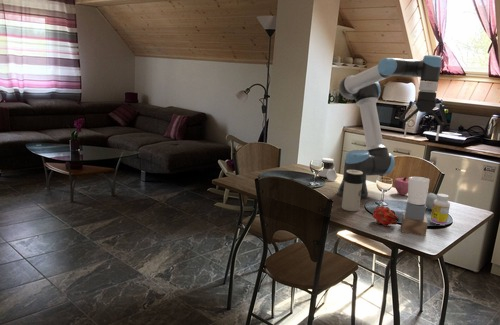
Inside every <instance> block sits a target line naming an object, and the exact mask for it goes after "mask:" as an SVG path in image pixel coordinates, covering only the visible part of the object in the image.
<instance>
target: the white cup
mask: <svg viewBox="0 0 500 325" xmlns="http://www.w3.org/2000/svg"><path fill="white" fill-rule="evenodd" d="M429 185H430V178H427V177H424V176H423V177H422V176H409V177H408V194H407V199H408V202H409V203H411V204H415V205H424V204H426V198H427V194H428V193H429Z"/></svg>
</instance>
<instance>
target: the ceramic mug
mask: <svg viewBox="0 0 500 325" xmlns="http://www.w3.org/2000/svg"><path fill="white" fill-rule="evenodd" d="M436 199H437V194H435V193H433V192H428V194H427V198H426V207H427V208H426V209H428V208H429V209H428V210H430V209H431V211H432V208H433V202H434V200H436Z"/></svg>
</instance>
